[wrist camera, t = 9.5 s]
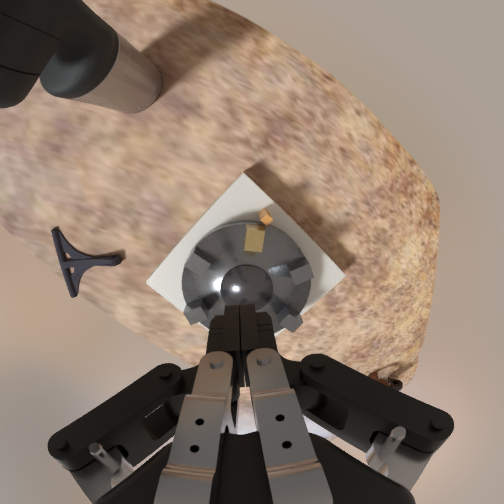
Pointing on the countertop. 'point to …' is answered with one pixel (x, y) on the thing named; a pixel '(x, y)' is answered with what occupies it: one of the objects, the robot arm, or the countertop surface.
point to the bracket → (77, 262)
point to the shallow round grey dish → (247, 274)
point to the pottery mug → (391, 382)
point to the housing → (236, 209)
